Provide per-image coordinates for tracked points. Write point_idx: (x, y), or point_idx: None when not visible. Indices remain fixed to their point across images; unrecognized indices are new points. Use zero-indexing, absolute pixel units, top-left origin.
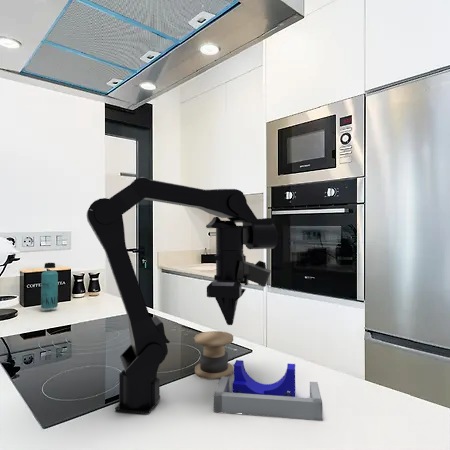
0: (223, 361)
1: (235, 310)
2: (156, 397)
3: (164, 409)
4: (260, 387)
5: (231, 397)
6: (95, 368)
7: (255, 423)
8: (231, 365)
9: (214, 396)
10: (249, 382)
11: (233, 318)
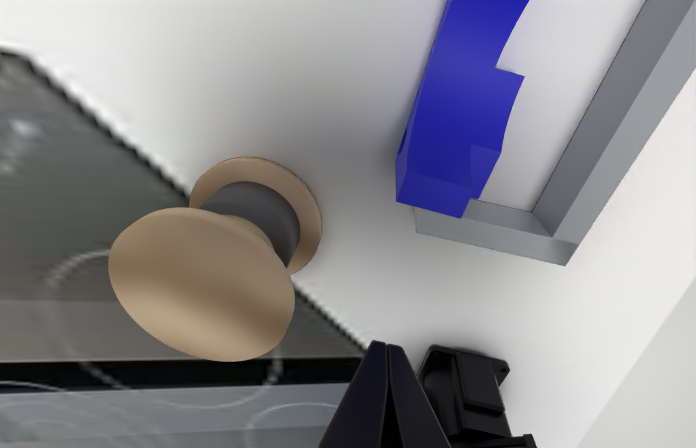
0: (274, 215)
1: (355, 431)
2: (483, 370)
3: (490, 336)
4: (465, 79)
5: (595, 214)
6: (264, 441)
7: (663, 126)
8: (227, 166)
9: (563, 261)
10: (460, 130)
11: (416, 388)
